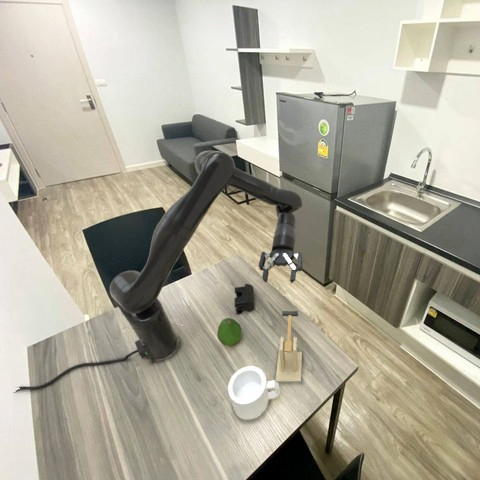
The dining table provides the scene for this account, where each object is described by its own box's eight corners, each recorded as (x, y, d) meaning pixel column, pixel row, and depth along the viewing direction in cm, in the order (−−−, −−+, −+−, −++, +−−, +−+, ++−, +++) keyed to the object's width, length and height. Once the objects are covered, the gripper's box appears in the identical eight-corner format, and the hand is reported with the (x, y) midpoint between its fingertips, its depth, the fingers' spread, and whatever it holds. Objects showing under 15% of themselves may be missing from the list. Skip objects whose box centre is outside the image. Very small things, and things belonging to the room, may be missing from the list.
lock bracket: (278, 353, 91) (276, 328, 83) (302, 353, 92) (302, 329, 84) (275, 382, 83) (272, 359, 75) (300, 382, 84) (300, 359, 75)
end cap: (255, 312, 105) (253, 300, 101) (237, 315, 103) (234, 303, 99) (254, 293, 113) (252, 282, 109) (236, 296, 111) (234, 285, 107)
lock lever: (282, 312, 87) (282, 310, 85) (298, 312, 87) (297, 310, 85) (280, 352, 81) (279, 351, 79) (296, 352, 81) (296, 351, 79)
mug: (278, 378, 84) (276, 360, 78) (281, 413, 76) (280, 396, 70) (234, 387, 81) (228, 369, 75) (233, 425, 73) (226, 408, 67)
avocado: (226, 355, 90) (220, 334, 83) (216, 339, 94) (209, 318, 87) (247, 342, 94) (243, 321, 87) (237, 327, 99) (232, 306, 92)
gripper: (262, 233, 91) (253, 276, 82) (303, 233, 90) (299, 277, 81) (266, 244, 97) (259, 285, 88) (305, 245, 96) (301, 286, 87)
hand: (278, 281), depth 85 cm, fingers open, 8 cm apart
